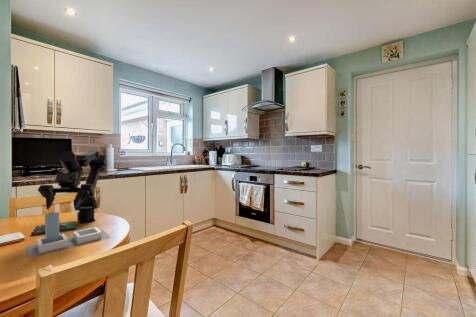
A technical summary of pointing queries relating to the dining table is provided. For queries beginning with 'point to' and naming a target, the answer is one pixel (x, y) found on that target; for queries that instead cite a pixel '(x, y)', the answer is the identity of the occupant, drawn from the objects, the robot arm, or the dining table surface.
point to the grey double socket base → (66, 241)
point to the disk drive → (62, 227)
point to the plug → (51, 227)
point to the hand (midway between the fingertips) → (61, 208)
